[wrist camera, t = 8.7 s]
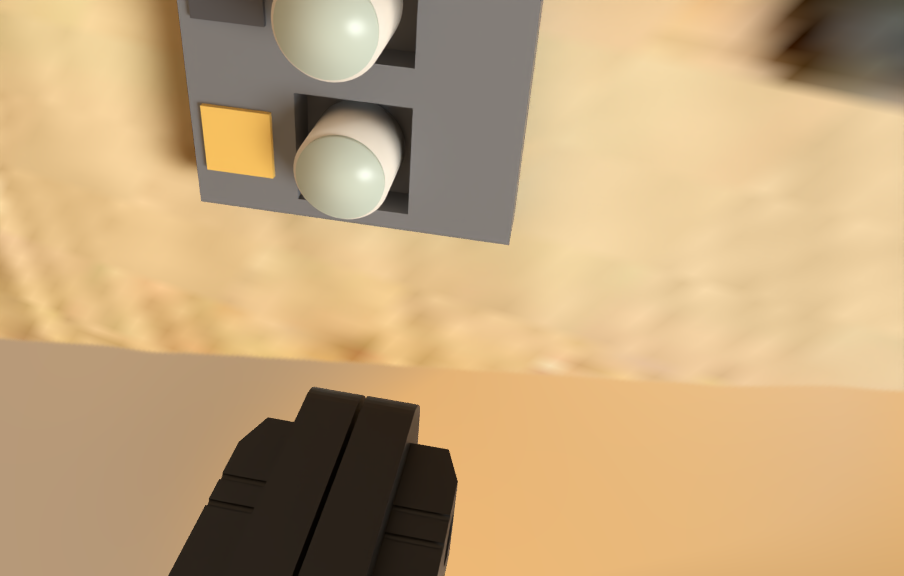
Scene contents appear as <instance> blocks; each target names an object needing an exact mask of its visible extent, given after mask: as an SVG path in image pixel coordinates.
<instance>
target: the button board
mask: <svg viewBox="0 0 904 576" xmlns="http://www.w3.org/2000/svg"><path fill="white" fill-rule="evenodd" d="M272 3H273V0H177V5H178V13H179V22H180V30H181V38H182V46H183V55H184V63H185V71H186V79H187V88H188V96H189V104H190V112H191V121H192V129H193V137H194V145H195V154H196V162H197V170H198V178H199V187H200V195H201V201H204V202H211V203H218V204H225V205H232V206H239V207H246V208H253V209H260V210H267V211H274V212H281V213H288V214H295V215H302V216H309V217H316V218H323V219H330V220H337V221H344V222H351V223H358V224H365V225H372V226H379V227H386V228H393V229H400V230H407V231H414V232H421V233H428V234H435V235H442V236H449V237H456V238H463V239H470V240H477V241H484V242H491V243H498V244H505V245H509V242H510V236H511V231H512V225H513V220H514V213H515V206H516V198H517V191H518V183H519V176H520V168H521V161H522V153H523V146H524V139H525V131H526V124H527V116H528V109H529V101H530V94H531V86H532V79H533V71H534V64H535V56H536V49H537V42H538V34H539V27H540V19H541V12H542V4H543V0H403V11H402V16H401V20H400V23H399V25H398V27H397V29H396V31H395V32H394V34H393V36H392V37H391V39H390V40H389V42H388V43H387V45H386V46H385V48H384V49H383V51H382V52H381V54H380V55H379V57H378V58H377V60H376V61H375V63H374V64H373V65H372V67H371V68H370V69H369V70H368V71H366V72H365V73H364V74H362V75H361V76H359V77H357V78H355V79H352V80H349V81H345V82H326V81H321V80H318V79H314V78H312V77H310V76H308V75H306V74H304V73H303V72H301V71H300V70H298V69H297V68H296V67H295V66H293V65H292V64H291V63H290V62H289V61H288V59H287V58H286V57H285V56H284V54H283V53H282V51H281V50H280V48H279V46H278V44H277V42H276V40H275V37H274V34H273V30H272V25H271V8H272ZM344 100H353V101H360V102H368V103H374V104H376V105H378V106H380V107H382V108H383V109H385V110H386V111H387V112H388V113H389V114H390V115H392V116H393V118H394V119H395V120H396V121H397V123H398V125H399V126H400V128H401V131H402V133H403V136H404V141H405V153H404V157H403V160H402V163H401V165H400V167H399V169H398V171H397V174H396V176H395V178H394V180H393V183H392V185H391V187H390V189H389V191H388V194H387V196H386V198H385V200H384V202H383V203H382V205H381V206H380V207H379V208H378V209H377V210H375V211H374V212H373V213H371V214H369V215H367V216H365V217H361V218H357V219H340V218H335V217H332V216H329V215H326V214H324V213H322V212H321V211H319V210H317V209H316V208H315V207H313V206H312V205H311V204H310V203H309V202H308V201H307V200H306V199H305V198H304V196H303V195H302V194H301V192H300V190H299V188H298V187H297V184H296V181H295V178H294V171H293V165H294V159H295V156H296V153H297V151H298V149H299V148H300V146H301V145H302V143H303V142H304V141H305V139H306V138H307V136H308V135H309V133H310V132H311V131H312V129H313V128H314V126H315V125H316V123H317V122H318V120H319V119H320V118H321V116H322V115H323V114H324V112H325V111H326V110H327V109H328V108H330V107H331V106H332V105H334V104H336V103H338V102H341V101H344Z"/></svg>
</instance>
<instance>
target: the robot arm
mask: <svg viewBox="0 0 904 576" xmlns="http://www.w3.org/2000/svg"><path fill="white" fill-rule="evenodd" d="M419 417H420V406H419V405H416V404H410V403H404V402H399V401H393V400H388V399H382V398H376V397H370V396H368V397H367V398H365V396H363V395H358V394H352V393H346V392H340V391H334V390H329V389H323V388H317V387H312V388H311V389H310V390H309V392H308V394H307V396H306V398H305V400H304V402H303V404H302V406H301V409H300V411H299V413H298V415H297V417H296V419H295V421H294V422H290V421H285V420H279V419H274V418H267V419H265V420H264V421H263V422H262V423H261V424H259V425H258V426H257V427H256V428H255V429H254V430H252V431H251V432H250V433H249V434H248V435H246V436H245V437H244V438H243V439H242V440H241V441H239V443H238V445H237V446H236V448H235V450H234V452H233V454H232V456H231V458H230V460H229V462H228V464H227V465H226V467H225V469H224V471H223V475H222V478H221V479H219V481H218V482H217V484H216V486H215V488H214V490H213V492H212V494H211V496H210V498H209V503H208V505H205V507H204V509H203V511H202V513H201V515H200V517H199V519H198V520H197V523H196V524H195V526H194V528H193V530H192V532H191V534H190V536H189V538H188V539H187V541H186V543H185V545H184V547H183V549H182V551H181V553H180V555H179V557H178V558H177V560H176V562H175V564H174V566H173V568H172V570H171V572H170V574H169V576H444V575H445V571H446V566H447V561H448V556H449V550H450V542H451V533H452V525H453V517H454V508H455V500H456V491H457V483H458V481H457V478H456V474H455V471H454V467H453V463H452V460H451V456H450V453H449V450H448V449H442V448H437V447H431V446H426V445H420V444H418V431H419Z"/></svg>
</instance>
